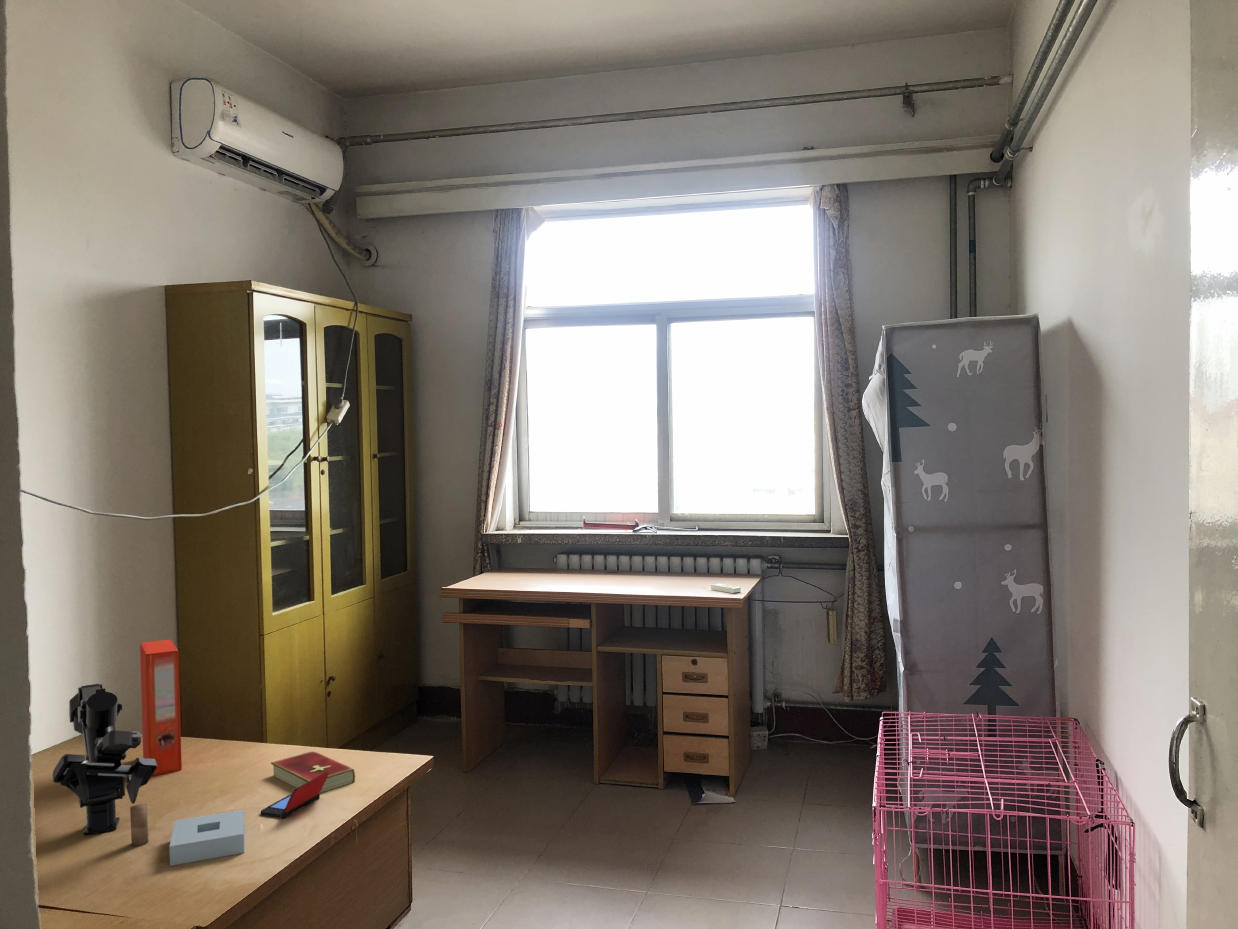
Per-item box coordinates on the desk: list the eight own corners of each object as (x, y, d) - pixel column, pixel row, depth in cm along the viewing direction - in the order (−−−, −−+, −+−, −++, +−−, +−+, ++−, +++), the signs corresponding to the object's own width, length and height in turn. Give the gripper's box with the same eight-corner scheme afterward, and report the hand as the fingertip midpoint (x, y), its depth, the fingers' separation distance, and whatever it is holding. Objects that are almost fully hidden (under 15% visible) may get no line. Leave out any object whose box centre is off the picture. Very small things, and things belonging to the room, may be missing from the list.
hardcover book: (314, 765, 246) (314, 749, 246) (355, 783, 231) (354, 767, 231) (271, 777, 237) (270, 761, 237) (310, 798, 222) (310, 780, 222)
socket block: (175, 838, 200) (174, 820, 200) (244, 827, 205) (244, 809, 205) (170, 865, 187) (169, 846, 187) (244, 852, 192) (243, 833, 192)
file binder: (175, 752, 258) (170, 639, 257) (183, 770, 243) (178, 650, 242) (143, 758, 253) (138, 643, 253) (149, 776, 239) (144, 654, 238)
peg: (132, 841, 199) (131, 805, 199) (149, 838, 200) (147, 802, 200) (130, 847, 196) (129, 810, 196) (147, 844, 197) (146, 807, 197)
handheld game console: (295, 796, 223) (294, 765, 223) (331, 801, 219) (330, 770, 219) (258, 816, 212) (256, 784, 211) (295, 822, 208) (294, 789, 208)
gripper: (72, 713, 189) (79, 771, 179) (163, 720, 202) (174, 775, 192) (49, 751, 192) (54, 811, 181) (140, 756, 205) (150, 813, 194)
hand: (110, 801), depth 187 cm, fingers open, 9 cm apart
